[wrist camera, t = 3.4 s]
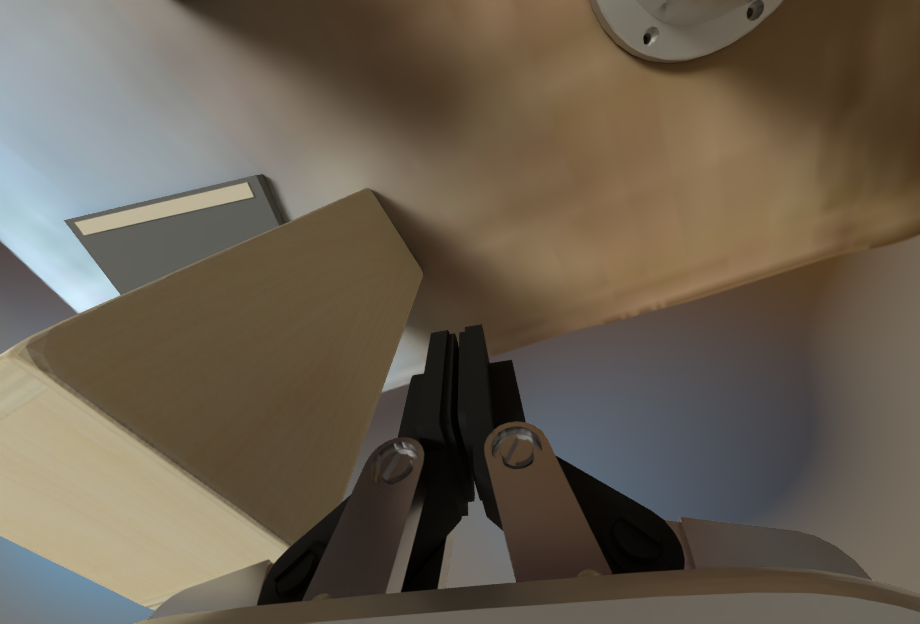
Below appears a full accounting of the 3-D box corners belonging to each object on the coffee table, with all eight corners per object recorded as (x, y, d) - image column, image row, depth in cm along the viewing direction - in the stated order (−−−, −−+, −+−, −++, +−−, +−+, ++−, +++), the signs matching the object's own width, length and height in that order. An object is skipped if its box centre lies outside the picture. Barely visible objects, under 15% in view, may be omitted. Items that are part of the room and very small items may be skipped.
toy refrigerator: (292, 231, 25) (-177, 477, 7) (367, 183, 24) (8, 342, 5) (354, 310, 29) (148, 623, 10) (425, 273, 27) (330, 571, 8)
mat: (262, 174, 23) (255, 175, 23) (334, 335, 30) (331, 340, 29) (75, 218, 25) (62, 220, 24) (181, 361, 32) (174, 366, 31)
